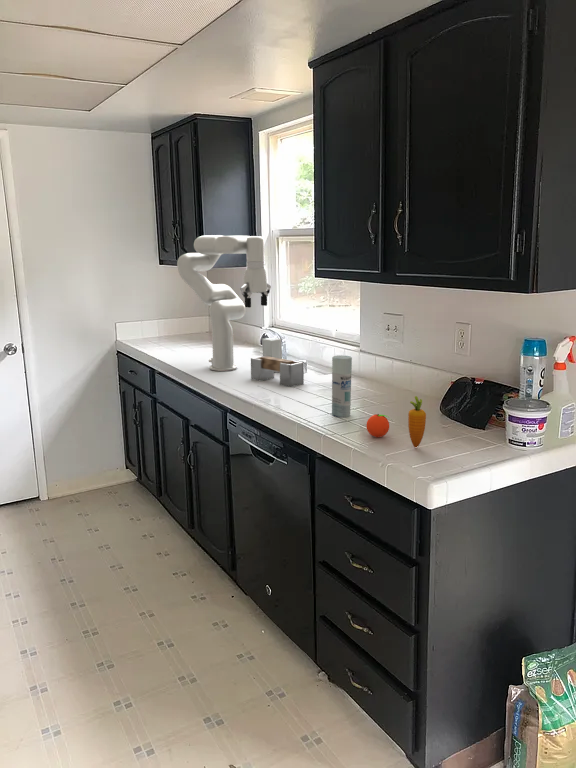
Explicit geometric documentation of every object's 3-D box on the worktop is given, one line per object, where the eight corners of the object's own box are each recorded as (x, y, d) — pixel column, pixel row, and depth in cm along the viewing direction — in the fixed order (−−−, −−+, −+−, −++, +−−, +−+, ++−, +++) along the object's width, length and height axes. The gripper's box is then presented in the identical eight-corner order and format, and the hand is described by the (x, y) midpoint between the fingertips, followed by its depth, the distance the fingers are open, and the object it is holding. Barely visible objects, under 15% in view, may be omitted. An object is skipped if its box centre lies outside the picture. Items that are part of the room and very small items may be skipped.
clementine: (390, 433, 199) (391, 411, 198) (394, 440, 193) (395, 417, 191) (364, 433, 199) (365, 411, 198) (367, 440, 192) (368, 417, 191)
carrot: (422, 451, 182) (425, 400, 179) (405, 449, 184) (407, 398, 181) (425, 446, 187) (428, 396, 183) (408, 444, 188) (410, 394, 185)
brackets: (251, 378, 277) (250, 358, 275) (264, 376, 283) (263, 355, 281) (290, 386, 262) (290, 365, 260) (303, 383, 268) (303, 362, 266)
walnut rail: (259, 367, 276) (259, 357, 275) (266, 366, 279) (266, 356, 278) (286, 372, 265) (286, 362, 264) (293, 371, 268) (293, 360, 267)
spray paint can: (340, 411, 225) (341, 354, 221) (354, 414, 220) (355, 357, 216) (327, 414, 221) (328, 357, 216) (341, 418, 216) (342, 359, 212)
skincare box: (283, 371, 293) (282, 339, 290) (271, 373, 290) (271, 340, 286) (273, 368, 300) (273, 336, 296) (262, 370, 296) (261, 337, 293)
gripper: (263, 265, 283) (264, 304, 287) (234, 266, 271) (235, 307, 274) (276, 265, 278) (276, 305, 282) (247, 266, 266) (247, 308, 269)
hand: (256, 306), depth 278 cm, fingers open, 9 cm apart
